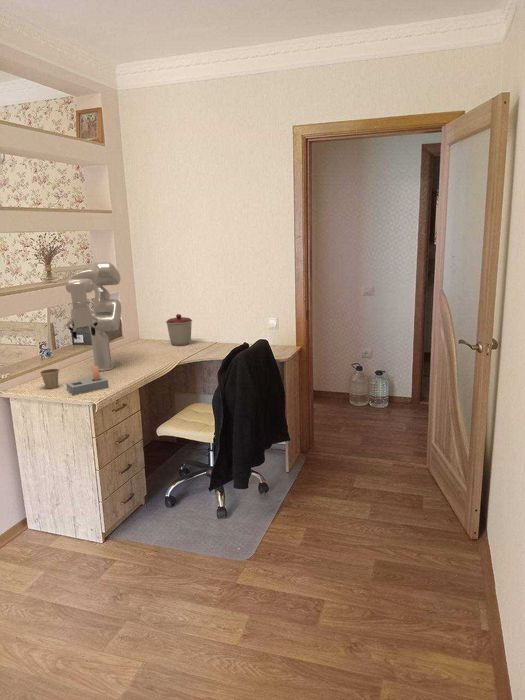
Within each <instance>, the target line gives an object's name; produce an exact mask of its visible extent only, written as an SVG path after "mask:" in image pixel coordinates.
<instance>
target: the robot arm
mask: <svg viewBox="0 0 525 700" xmlns="http://www.w3.org/2000/svg"><path fill="white" fill-rule="evenodd" d="M120 282H121V275H120V273H119V270H118V269H117V268H116V266H115V265H114V264H113V263H111V262H108V261H107V262H93V263H91V264H89V266H87V268H86V269H85V270H83V271H80V272H76V273H75V274H72V275H71V276H69V277H68V279H66V281H65V289H66V292H67V293H69V294H70V296H71V297H70V298H71V304H72V308H71V310H70V321H68V322H67V323H65V326H66V327H67V329H68V330H70V331H71V334H72V335H71V336H72V337H73V339H74V340H77V339H78V334H77V331H76V330H77V329H79V328H85V327H88V329H89V333H90V338H91V346H92V347H91V348H92V353H93V355H92V356H93V362H94V366H98V369H99V372H105V371H110V370H113V369H114V368H115V364H119V363H120V362H121V361H120V360H119V359H112V356H111V355H112V354H111V345H110V338H109V336H108V334H106V332H116V331H118V330H119V329H120V324H121V317H122V304H121V302H120V300H118V299H115V298H113V299H112V298H111V294H110V291H108V290H107V289H106V288H105V287H104V286H117V285H119V284H120ZM93 291H94V300H93V304H92V310H93V314H94V315H93V314H92V311H91V308H90V306H89V305H91V302H90V301H88V297H87V295H88V294H90V293H92V292H93ZM110 298H111V299H110Z"/></svg>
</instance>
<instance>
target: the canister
mask: <svg viewBox="0 0 525 700" xmlns="http://www.w3.org/2000/svg"><path fill="white" fill-rule="evenodd" d="M192 322H193V319H191V318H190V317H187V316H186V317H185V316H184V317H182V314H180V313H177V314H176V317H172V318H169V319H168V320H165V324H166V327H167V332H168V336H169V340H170V344H171V345H172V346H177V347H181V346H187V345H189V344H190V343H191V340H192Z"/></svg>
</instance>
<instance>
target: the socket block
mask: <svg viewBox="0 0 525 700" xmlns="http://www.w3.org/2000/svg"><path fill="white" fill-rule="evenodd" d="M99 378H100V380H99V381H94V379H93V377H90V378H85V379H80V380H76V381H71V382H66V383H65V385H66V391H67V392H68V391H69V392H68V393H70V394H71V393H72V394H73V395H72V394H71V395H72V396H76V395H75V394H77V395H80V394H79V393H81V394H85V393H84V392H86V393H89V391H90V392H94V391H93V390H95V391H99V390H98V389H100V390H102V389H103V388H104V389H108V388H109V382H108V381H109V380H108V379H106V378H104V377H103V376H101V375H99ZM104 389H103V390H104Z"/></svg>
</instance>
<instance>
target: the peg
mask: <svg viewBox="0 0 525 700" xmlns="http://www.w3.org/2000/svg"><path fill="white" fill-rule="evenodd" d="M91 371H92V378H93V379H94V381H99V380H100V378H99V376H100V371H99V369H98V366H95V365H94V366H93V365H92V367H91Z"/></svg>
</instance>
